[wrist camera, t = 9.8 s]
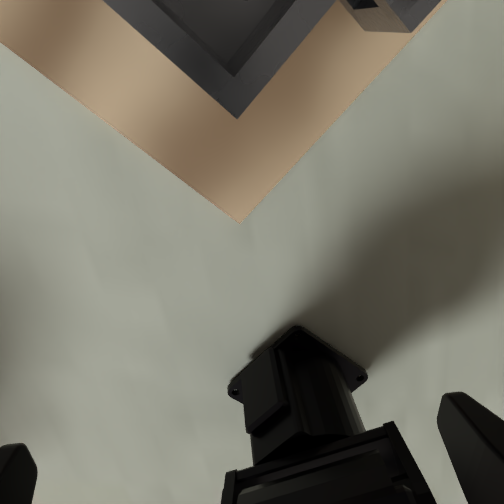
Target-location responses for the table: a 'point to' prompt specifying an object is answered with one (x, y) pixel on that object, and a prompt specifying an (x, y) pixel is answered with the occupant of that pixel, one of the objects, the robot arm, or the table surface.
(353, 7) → the shallow square tray
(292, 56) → the tan square board
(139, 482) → the table surface
